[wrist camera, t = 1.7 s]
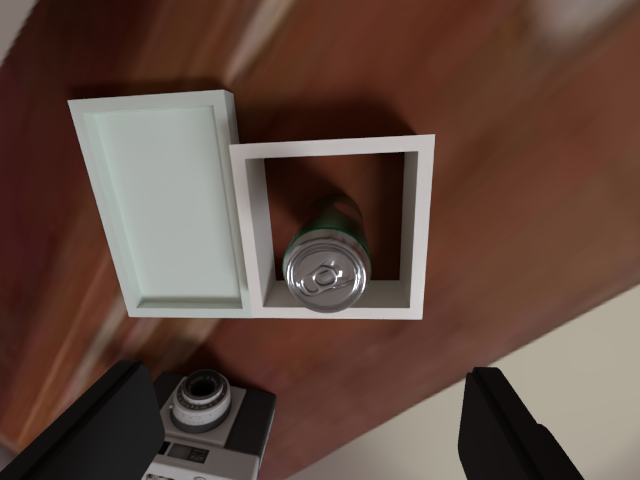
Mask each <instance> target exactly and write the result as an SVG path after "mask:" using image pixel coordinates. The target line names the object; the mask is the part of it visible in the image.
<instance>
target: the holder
mask: <svg viewBox="0 0 640 480" xmlns="http://www.w3.org/2000/svg"><path fill="white" fill-rule="evenodd" d="M434 142H435V134H434V135H414V136H394V137H374V138H354V139H334V140H314V141H294V142H274V143H254V144H234V145H229V149H230V156H231V164H232V171H233V179H234V186H235V193H236V201H237V208H238V215H239V223H240V230H241V237H242V245H243V252H244V259H245V267H246V274H247V281H248V289H249V296H250V303H251V311H252V318H336V319H422V313H423V299H424V284H425V270H426V256H427V242H428V227H429V213H430V199H431V185H432V170H433V156H434ZM387 152H405V158H404V183H403V207H402V231H401V256H400V280H370V283H369V285H368V287H367V289H366V290H365V292H364V293H363V294H362V295H361V296H360V298H359V299H358V300H357V301H356V302H355V303H354V304H353V305H352V306H350V307H349V308H347V309H345V310H342V311H340V312H335V313H319V312H315V311H312V310H309V309H307V308H305V307H304V306H302V305H301V304H299V303H298V302H297V301H296V300H295V299H294V297H293V296H292V295H291V293H290V291H289V289H288V286H287V284H286V281H276V273H275V263H274V254H273V244H272V234H271V224H270V215H269V205H268V195H267V185H266V176H265V166H264V158H275V157H298V156H320V155H342V154H364V153H387Z"/></svg>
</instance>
